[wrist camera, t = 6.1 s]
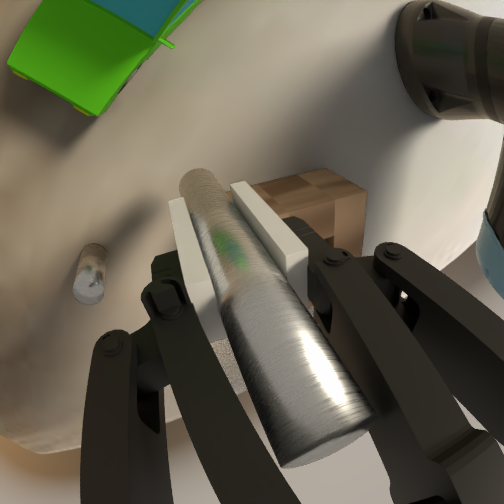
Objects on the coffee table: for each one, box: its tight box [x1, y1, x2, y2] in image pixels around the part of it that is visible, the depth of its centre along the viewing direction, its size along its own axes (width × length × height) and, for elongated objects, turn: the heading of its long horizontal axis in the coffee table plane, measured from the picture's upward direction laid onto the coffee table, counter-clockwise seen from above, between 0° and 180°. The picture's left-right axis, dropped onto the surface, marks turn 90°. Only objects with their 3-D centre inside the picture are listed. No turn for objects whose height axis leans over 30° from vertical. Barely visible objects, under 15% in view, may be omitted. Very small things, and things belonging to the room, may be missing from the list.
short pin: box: [73, 243, 107, 305], centre depth 20 cm, size 2×2×5 cm
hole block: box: [226, 168, 367, 308], centre depth 25 cm, size 10×10×6 cm
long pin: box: [179, 168, 379, 468], centre depth 11 cm, size 2×2×16 cm
